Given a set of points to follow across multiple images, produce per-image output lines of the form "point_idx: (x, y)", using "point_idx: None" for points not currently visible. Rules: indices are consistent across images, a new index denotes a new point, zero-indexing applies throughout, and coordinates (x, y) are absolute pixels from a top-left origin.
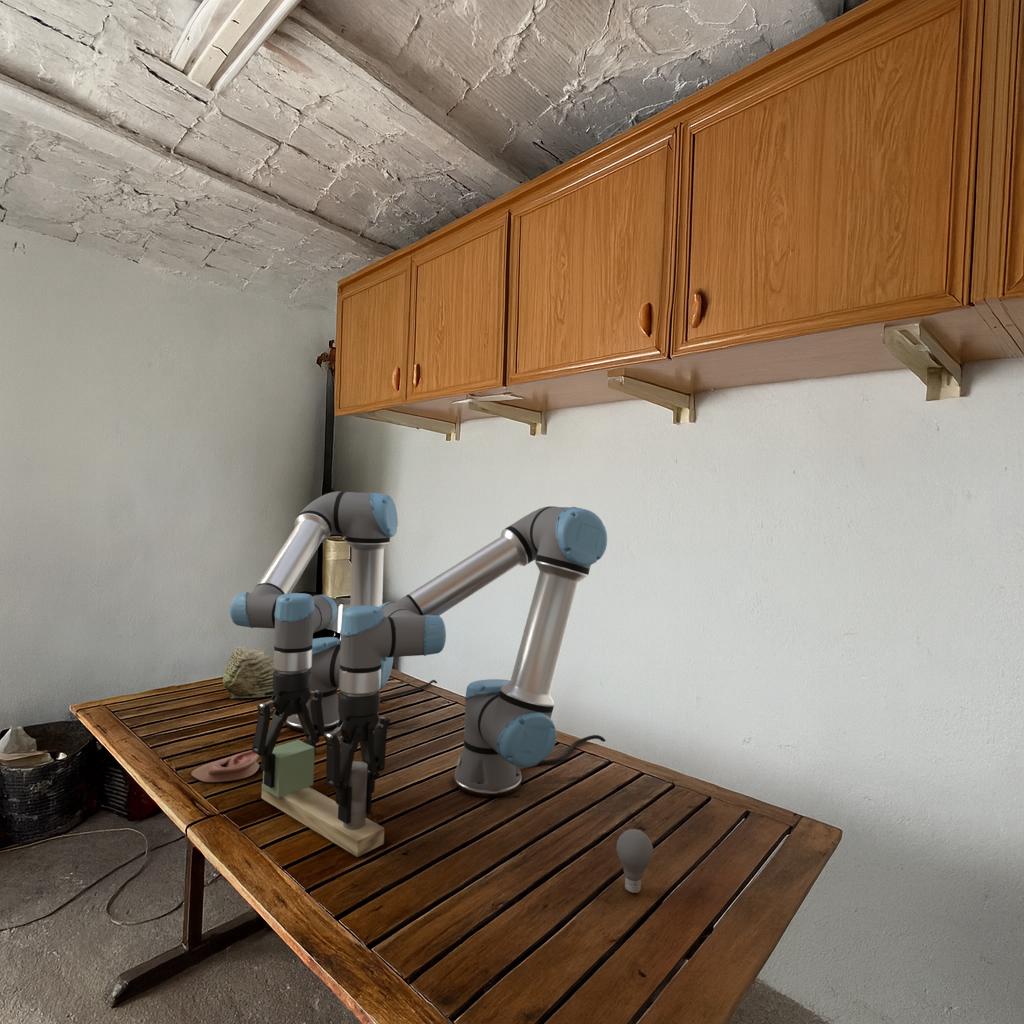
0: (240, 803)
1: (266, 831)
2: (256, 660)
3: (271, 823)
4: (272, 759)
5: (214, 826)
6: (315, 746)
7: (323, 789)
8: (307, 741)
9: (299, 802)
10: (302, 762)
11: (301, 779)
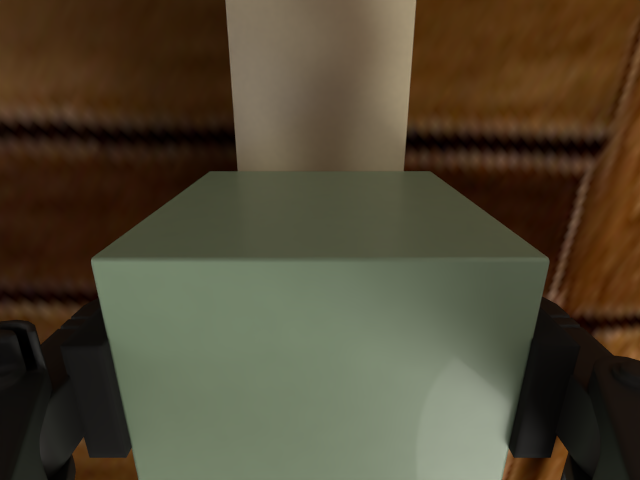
0: None
1: (553, 38)
2: None
3: (490, 92)
4: (552, 323)
5: (637, 244)
6: (52, 337)
7: (138, 209)
8: (96, 414)
9: (388, 30)
10: (266, 218)
11: (285, 182)
